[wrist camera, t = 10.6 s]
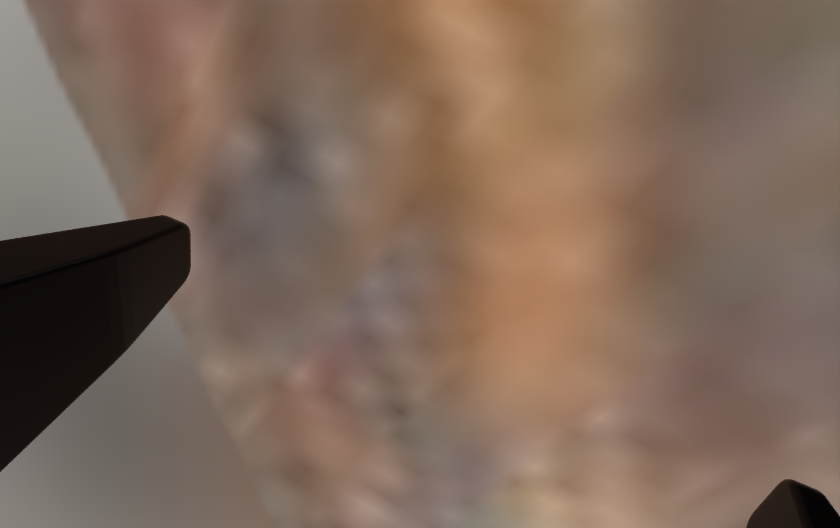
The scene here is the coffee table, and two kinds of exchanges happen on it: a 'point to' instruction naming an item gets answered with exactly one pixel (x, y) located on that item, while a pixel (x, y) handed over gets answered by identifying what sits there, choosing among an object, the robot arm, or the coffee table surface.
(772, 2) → the coffee table surface
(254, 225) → the coffee table surface
